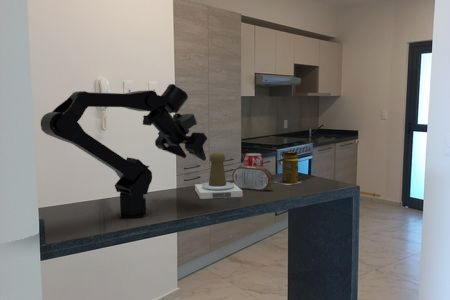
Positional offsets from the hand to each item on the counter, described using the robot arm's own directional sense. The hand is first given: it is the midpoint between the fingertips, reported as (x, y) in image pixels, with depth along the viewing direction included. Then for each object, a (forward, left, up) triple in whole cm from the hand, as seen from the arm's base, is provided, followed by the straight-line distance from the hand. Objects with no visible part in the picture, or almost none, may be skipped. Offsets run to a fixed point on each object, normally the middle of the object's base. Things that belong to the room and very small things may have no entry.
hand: (194, 158), depth 129 cm
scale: (+9, +9, -14) cm, 19 cm away
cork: (+9, +9, -11) cm, 17 cm away
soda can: (+24, +18, -14) cm, 33 cm away
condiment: (+39, +22, -14) cm, 47 cm away
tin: (+22, +13, -14) cm, 29 cm away
